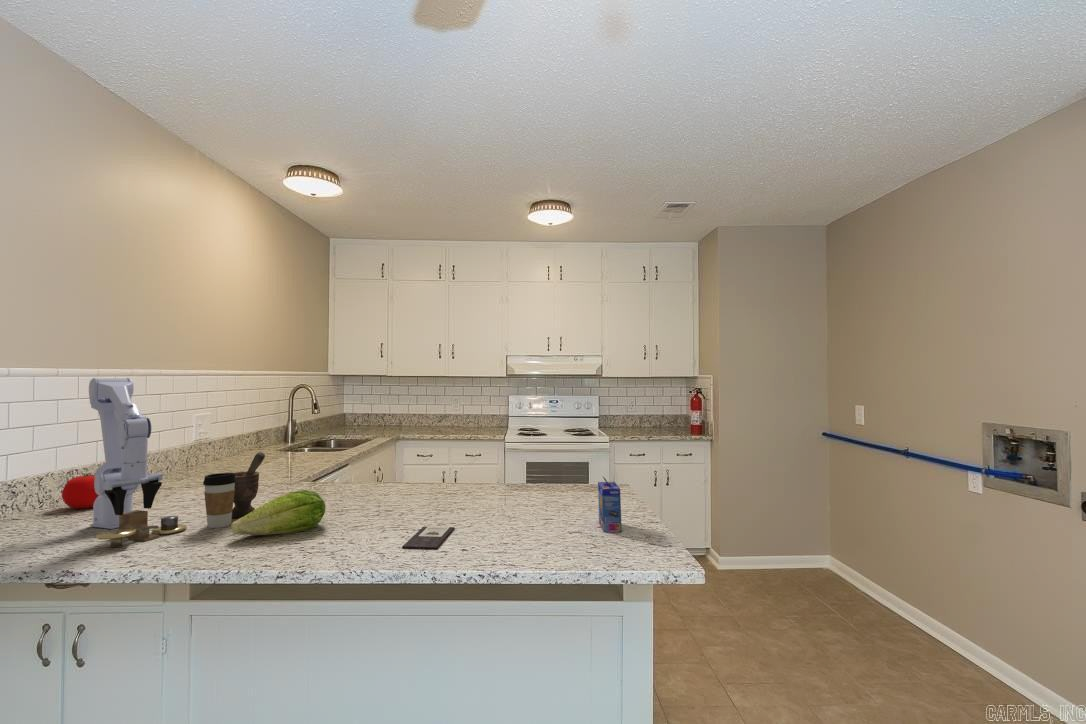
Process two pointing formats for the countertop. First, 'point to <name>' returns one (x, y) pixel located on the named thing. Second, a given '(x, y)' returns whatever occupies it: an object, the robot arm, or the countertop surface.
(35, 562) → the countertop surface
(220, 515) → the coffee cup
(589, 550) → the countertop surface
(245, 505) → the mortar and pestle
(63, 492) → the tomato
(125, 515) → the walnut block
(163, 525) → the balance
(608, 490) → the ink cartridge box
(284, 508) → the lettuce
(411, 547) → the chocolate bar
